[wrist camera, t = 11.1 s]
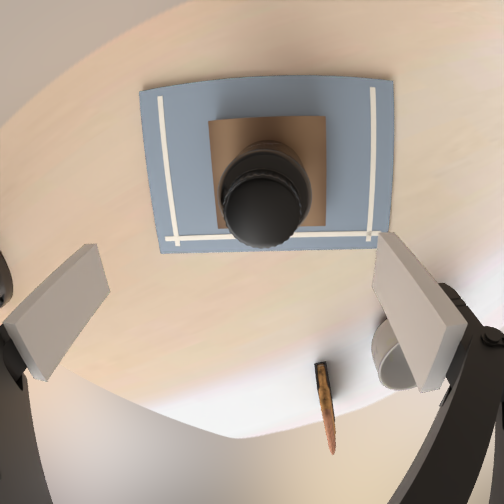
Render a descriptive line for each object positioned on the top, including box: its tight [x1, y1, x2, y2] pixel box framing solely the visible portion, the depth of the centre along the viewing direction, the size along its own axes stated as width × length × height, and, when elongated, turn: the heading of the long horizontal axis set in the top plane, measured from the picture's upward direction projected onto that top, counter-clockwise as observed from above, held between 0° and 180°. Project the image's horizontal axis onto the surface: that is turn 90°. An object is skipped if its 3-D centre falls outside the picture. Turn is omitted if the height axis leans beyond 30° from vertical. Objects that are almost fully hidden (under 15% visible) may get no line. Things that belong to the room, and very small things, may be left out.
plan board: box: [139, 75, 394, 254], centre depth 33 cm, size 28×20×1 cm
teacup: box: [371, 318, 417, 391], centre depth 39 cm, size 14×11×8 cm
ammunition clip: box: [314, 362, 336, 455], centre depth 43 cm, size 11×2×12 cm, turn 15°
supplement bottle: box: [217, 140, 312, 249], centre depth 24 cm, size 7×7×12 cm
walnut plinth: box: [208, 116, 327, 229], centre depth 31 cm, size 11×11×4 cm
